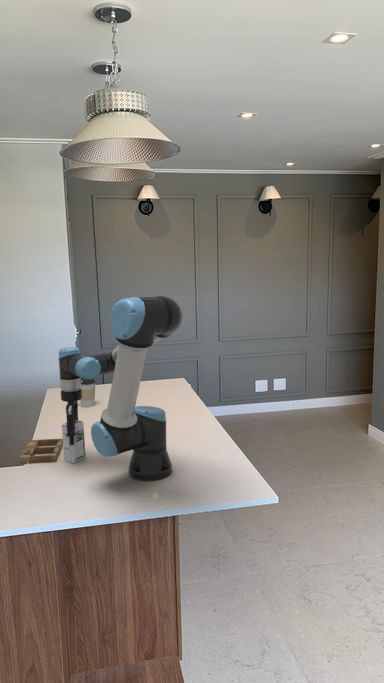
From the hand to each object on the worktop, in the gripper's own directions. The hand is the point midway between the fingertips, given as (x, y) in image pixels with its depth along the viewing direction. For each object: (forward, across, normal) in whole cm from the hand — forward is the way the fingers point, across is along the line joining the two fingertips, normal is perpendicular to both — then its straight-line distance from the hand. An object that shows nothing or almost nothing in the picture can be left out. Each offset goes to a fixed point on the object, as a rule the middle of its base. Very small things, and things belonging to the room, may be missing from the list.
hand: (74, 448), depth 184 cm
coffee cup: (+4, +76, +2) cm, 76 cm away
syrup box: (+4, 0, 0) cm, 4 cm away
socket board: (+4, +8, +13) cm, 16 cm away
